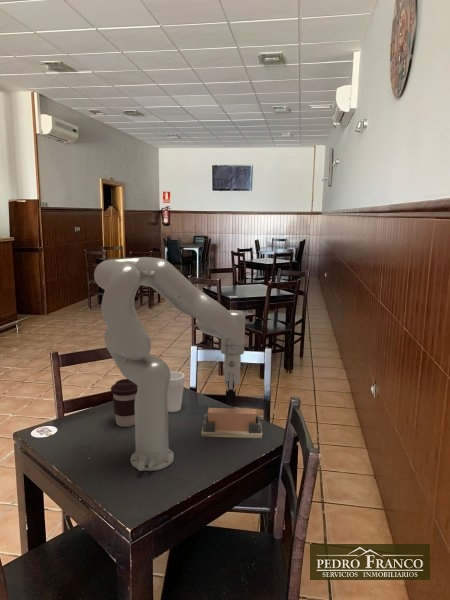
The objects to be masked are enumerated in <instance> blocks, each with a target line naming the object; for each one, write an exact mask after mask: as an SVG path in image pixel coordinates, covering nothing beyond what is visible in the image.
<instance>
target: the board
mask: <svg viewBox="0 0 450 600" xmlns="http://www.w3.org/2000/svg"><path fill="white" fill-rule="evenodd" d="M261 419H262V417H261V415H257V414H256V423H249V431H236V430H215V422H208V413H205V414H204V416H203V421H202V428H201V434H200V436H201V437H208V438H209V437H211V438H238V439H239V438H241V439H244V438H246V439H263V428H262V420H261Z"/></svg>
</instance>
